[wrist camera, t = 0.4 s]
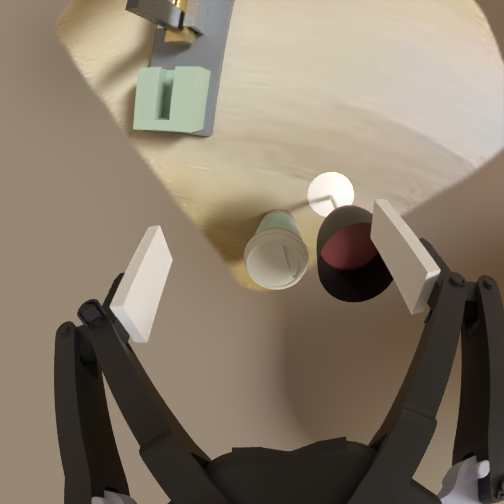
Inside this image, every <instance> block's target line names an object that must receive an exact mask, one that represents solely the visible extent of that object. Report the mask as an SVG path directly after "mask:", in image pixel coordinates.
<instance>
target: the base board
mask: <svg viewBox="0 0 504 504" xmlns="http://www.w3.org/2000/svg"><path fill="white" fill-rule="evenodd" d="M233 4H234V0H212V3H211V8H210V12H209V17H208V22H207V27H206V32H205V35H196V38H195V43H194V45H175V46H173V45H171V44H169V43H166V42H164V41H165V36H166V32H164V31H161V30H159V29H156V34H155V39H154V45H153V51H152V57H151V64H150V67H162V69H165V70H175V67H176V66H197V67H202V68H205V69H207V70H209V71H211V74H210V81H209V87H208V95H207V102H206V110H205V118H204V126H203V129H202V130H199V131H195V132H192V133H189V132H176V131H160V130H144V131H146V132H165V133H180V134H191V135H202V136H212V133H213V125H214V117H215V109H216V102H217V95H218V88H219V82H220V75H221V69H222V63H223V57H224V51H225V45H226V40H227V34H228V29H229V24H230V19H231V14H232V9H233ZM157 26H158V24H157Z"/></svg>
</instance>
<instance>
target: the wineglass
mask: <svg viewBox="0 0 504 504" xmlns="http://www.w3.org/2000/svg"><path fill="white" fill-rule="evenodd" d="M307 199H308V202H309V205H310V206H311V208H312V209H313V210H314V211H315V212H316V213H318V214H319V215H321V216H324V217H326V218H325V220H324V221H323V223H322V225H321V227H320V230H319V233H318V238H317V266H318V274H319V278H320V281H321V283H322V285H323V287H324V288H325V289H326V291H327V292H328V293H330V294H331V295H332V296H333V297H335V298H337V299H339V300H342V301H346V302H362V301H366V300H369V299H371V298H374V297H375V296H377V295H379V294H380V293H382V292H383V291H384V290H385V289H386V288H387V287H388V286H389V285H390V283H391V282H392V281H393V277H392V275H391V273H390V271H389V269H388V268H387V266H386V264H385V262H384V260H383V259H382V257H381V255H380V253H379V252H378V250H377V248H376V246H375V245H374V243H373V241H372V240H371V238H370V235H371V227H372V218H373V214H371V213H370V212H368V211H367V210H365V209H363V208H361V207H358V206H353V205H352V202H353V199H354V190H353V186H352V184H351V183H350V181H349V180H348V179H347V178H346V177H345V176H343V175H342V174H339V173H336V172H327V173H323V174H320V175H319V176H317V177H316V178H315V179H314V180H313V181H312V182H311V184H310V185H309V188H308V191H307Z"/></svg>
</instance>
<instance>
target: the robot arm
mask: <svg viewBox="0 0 504 504" xmlns="http://www.w3.org/2000/svg"><path fill="white" fill-rule="evenodd" d="M370 238H371V240H372V241H373V243H374V245H375V246H376V248H377V250H378V252H379V253H380V255H381V257H382V259H383V260H384V262H385V264H386V266H387V268H388V269H389V271H390V273H391V275H392V277H393V279H394V280H395V282H396V284H397V286H398V288H399V290H400V292H401V294H402V296H403V298H404V300H405V302H406V304H407V306H408V308H409V310H410V312H411V314H415V313H420V312H423V311H424V310H425V307H426V305H427V303H428V305H429V307H430V311H429V313H428V315H427V317H426V319H425V321H424V323H425V326H424V329H423V332H422V335H421V338H420V341H419V344H418V346H417V349H416V352H415V354H414V357H413V360H412V362H411V364H410V367H409V369H408V372H407V374H406V376H405V379H404V381H403V384H402V385H401V388H400V390H399V392H398V394H397V396H396V398H395V401H394V402H393V404H392V407H391V409H390V410H389V412H388V414H387V416H386V418H385V420H384V422H383V424H382V425H381V427H380V429H379V430H378V431H377V433H376V434H375V435H374V437H373V438H372V440H371V441H370V443H369V445H368V446H367V445H364V444H362V443H358V442H352V441H346V437H341V438H336V439H330V440H324V441H318V442H315V443H313V444H310V445H307V446H305V447H302V448H299V449H297V450H294V451H281V450H274V449H268V448H262V447H250V448H249V447H246V448H232V452H230V453H227V454H224V455H221V456H219V457H217V458H215V459H214V460H211V459H210V458H209V457H208V456H207V455H206V454H205V453H204V452H203V451H202V450H201V449H200V448H199V447H198V446H197V445H196V444H195V442H194V441H193V440H192V439H191V437H190V436H189V435H188V433H187V432H186V431H185V430H184V428H183V427H182V426H181V424H180V423H179V422H178V420H177V419H176V417H175V416H174V415H173V413H172V412H171V410H170V409H169V408H168V406H167V405H166V403H165V402H164V400H163V399H162V397H161V396H160V394H159V393H158V391H157V390H156V388H155V387H154V385H153V383H152V382H151V380H150V379H149V377H148V375H147V374H146V372H145V370H144V368H143V367H142V365H141V363H140V362H139V360H138V358H137V356H136V355H135V353H134V351H133V349H132V347H131V346H130V344H129V343H128V340H129V337H131V338H132V339H133V341H134V342H135V343H148V339H149V335H150V331H151V328H152V325H153V321H154V318H155V314H156V311H157V307H158V304H159V300H160V297H161V294H162V291H163V288H164V285H165V282H166V278H167V276H168V272H169V269H170V266H171V263H172V257H171V254H170V252H169V249H168V246H167V244H166V241H165V238H164V236H163V233H162V230H161V228H160V225H157V226H151V227H148V229H147V231H146V233H145V235H144V237H143V238H142V240H141V242H140V244H139V246H138V248H137V250H136V252H135V254H134V256H133V258H132V260H131V262H130V264H129V266H128V268H127V270H126V272H125V273H121V274H119V276H118V277H117V278H116V279H115V280H114V282H113V284H112V286H111V287H112V288H110V290H109V294H108V295H107V297H106V299H105V301H104V303H103V305H102V306H101V304H100V303H99V302H98V300H95V299H91V300H88V301H86V302H85V303H84V304H82V305H81V307H80V308H79V310H78V312H77V313H78V314H77V315H78V317H79V319H80V320H81V321H82V323H83V324H84V325H81V326H78V327H76V326H75V325H74V324H73V322H70V321H68V322H65V323H63V324H62V325H61V326H60V327H59V328H58V330H57V332H56V339H55V357H54V394H55V412H56V424H57V433H58V441H59V448H60V454H61V460H62V465H63V470H64V475H65V489H64V504H137V503H136V502H135V500H134V499H133V498H131V497H130V494H129V488H128V483H127V480H126V476H125V473H124V470H123V467H122V463H121V460H120V457H119V454H118V450H117V446H116V443H115V438H114V434H113V430H112V426H111V421H110V417H109V412H108V407H107V401H106V396H105V389H104V383H103V376H102V371H103V374H104V376H105V378H106V381H107V383H108V385H109V387H110V389H111V392H112V394H113V396H114V398H115V400H116V402H117V404H118V406H119V408H120V410H121V412H122V414H123V416H124V418H125V420H126V422H127V424H128V425H129V427H130V429H131V431H132V433H133V435H134V436H135V438H136V440H137V441H138V443H139V445H140V450H139V453H140V456H141V457H142V459H143V461H144V462H145V464H146V466H147V467H148V469H149V470H150V472H151V473H152V475H153V476H154V478H155V479H156V481H157V482H158V483H159V485H160V486H161V488H162V489H163V490H164V492H165V493H166V494H167V496H168V497H169V498H170V499H171V501H170V502H169V503H168V504H492V503H497V502H500V501H503V500H504V309H503V304H502V300H501V296H500V292H499V288H498V285H497V283H496V281H495V280H494V279H493V278H491V277H490V276H487V275H482V276H480V277H479V279H478V281H477V283H476V282H466V280H465V278H464V277H463V276H462V275H460V274H458V273H456V272H451V271H450V270H449V268H448V267H447V265H446V264H445V262H444V261H443V260H442V258H441V257H440V256H439V255H438V253H437V252H436V251H435V249H434V248H433V246H432V245H431V244H430V243H429V242H428V241H426V240H425V239H423V238H420V239H418V238H417V237H416V236H415V234H414V233H413V232H412V231H411V229H410V228H409V227H408V226H407V224H406V223H405V222H404V221H403V219H402V218H401V217H400V216H399V215H398V213H397V212H396V211H395V210H394V209H393V208H392V206H391V205H390V204H389V203H388V202H387V201H386V199H381V200H374V209H373V218H372V227H371V235H370ZM460 330H461V349H462V371H461V372H462V373H461V393H460V406H459V415H458V422H457V430H456V436H455V442H454V449H453V459H452V467H451V468H450V469H449V471H448V472H447V474H446V475H445V477H444V478H443V480H442V485H443V487H442V490H441V491H440V492H439V493H438V495H437V496H436V495H435V494H434V493H432V492H431V491H429V490H428V489H426V488H425V487H424V486H422V485H421V484H419V483H418V482H416V481H415V480H414V479H412V477H413V475H414V473H415V471H416V469H417V467H418V465H419V464H420V461H421V459H422V457H423V456H424V454H425V452H426V449H427V447H428V445H429V443H430V441H431V438H432V436H433V434H434V431H435V429H436V426H437V421H436V419H435V417H436V414H437V411H438V408H439V406H440V403H441V400H442V397H443V394H444V391H445V388H446V385H447V382H448V379H449V375H450V372H451V368H452V364H453V360H454V357H455V353H456V349H457V344H458V340H459V334H460Z"/></svg>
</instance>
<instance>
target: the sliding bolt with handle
mask: <svg viewBox="0 0 504 504" xmlns="http://www.w3.org/2000/svg"><path fill="white" fill-rule="evenodd" d="M187 4H188V0H175V3H174V4H173V3H171V2H170V1H169V0H128V1H127V5H126V9H125V10H127V11H129V12H132V13H134V14H136V15H139V16H141V17H143V18H145V19H147V20H149V21H152V22H154V23H156V24H158V25H160V26H162V27H164V28H166V29H167V30H166V36H165V41H164V42H166V43H169V44H171V45H173V46H175V45H194V43H195V38H196V32H197V31H195V30H194V29H193V28H191V27H183V22H184V17H185V12H186V8H187Z"/></svg>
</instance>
